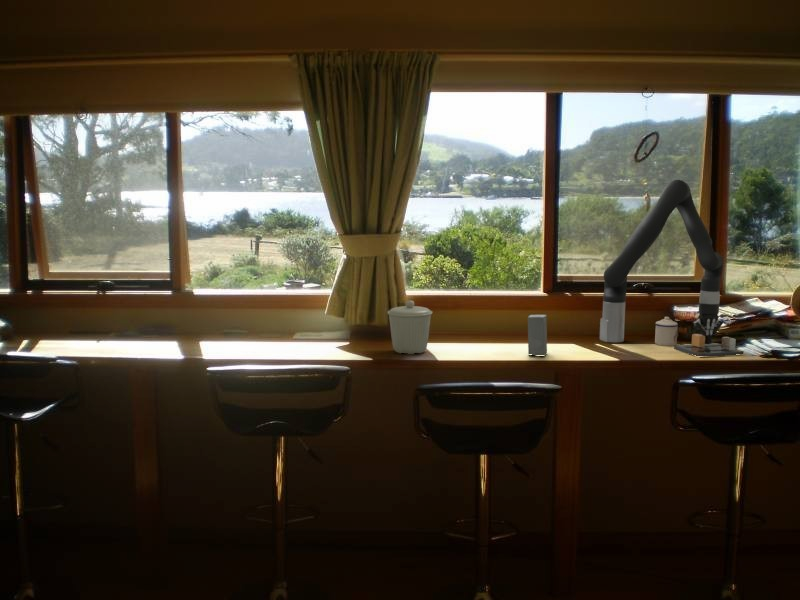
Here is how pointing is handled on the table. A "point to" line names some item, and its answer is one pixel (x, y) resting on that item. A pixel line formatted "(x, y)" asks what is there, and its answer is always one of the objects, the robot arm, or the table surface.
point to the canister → (409, 328)
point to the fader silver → (728, 343)
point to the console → (707, 350)
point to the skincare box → (537, 334)
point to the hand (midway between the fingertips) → (706, 343)
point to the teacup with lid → (666, 332)
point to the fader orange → (698, 340)
